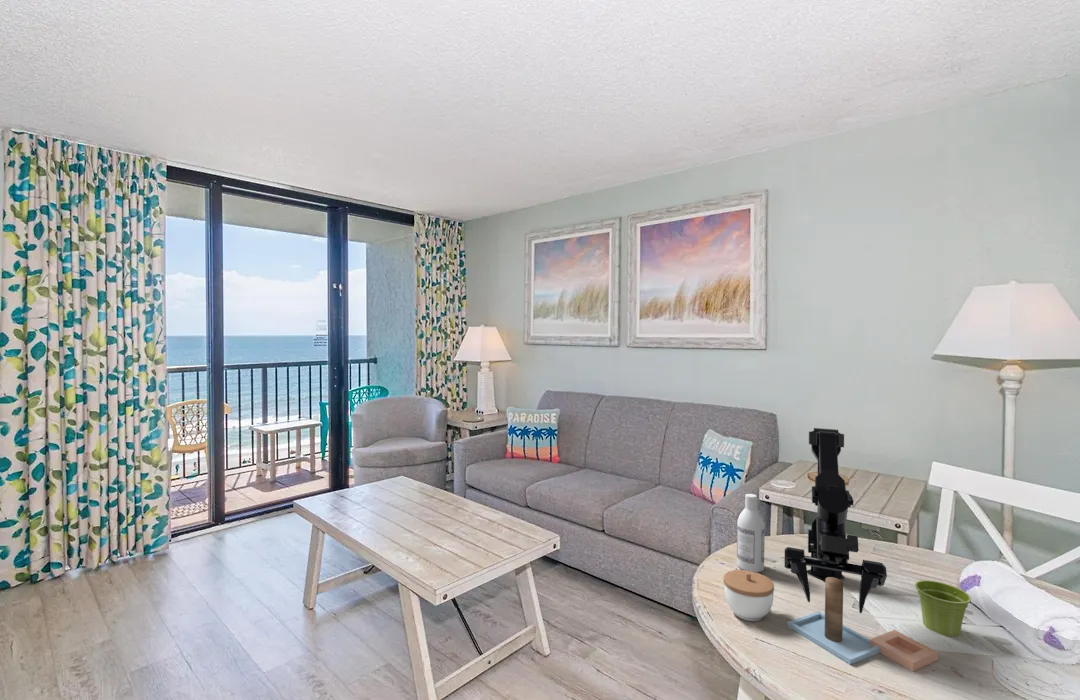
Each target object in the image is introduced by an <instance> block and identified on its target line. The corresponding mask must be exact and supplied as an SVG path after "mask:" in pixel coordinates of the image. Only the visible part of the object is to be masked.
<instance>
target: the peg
mask: <svg viewBox="0 0 1080 700" xmlns="http://www.w3.org/2000/svg"><path fill="white" fill-rule="evenodd" d="M824 582H825V590H824V599H825V600H824V614H825V637H826V638H827V639H828V640H830V641H833V642H841V641H842V630H843V625H844V623H843V622H844V621H843V619H844V617H843V616H844V581H843V579H838V578H834V577H827V578H826V581H824Z"/></svg>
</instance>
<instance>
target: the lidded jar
mask: <svg viewBox="0 0 1080 700" xmlns="http://www.w3.org/2000/svg"><path fill="white" fill-rule="evenodd" d="M723 591H724V597H725V600H726V603H727V605H728V607H729V608H730V610H732V612H733V613H734V614H735V616H736V617H737V618H740V619H742V620H744V621H749V622H758V621H759V622H760V621H761V620H762V619H763V618H764V617H765V616H767V614H769V612H770V611H771V609H772V606H773V603H774V593H775V592H774V591H775V584H774V582H773V580H771V579H770V578H769V577H767V576H766V575H764V574H761V573H760V572H752V571H747V570H742V569H736V570H735V569H734V570H730V571H727V572H726V573H725V574H724V575H723Z"/></svg>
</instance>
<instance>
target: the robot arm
mask: <svg viewBox="0 0 1080 700" xmlns="http://www.w3.org/2000/svg"><path fill="white" fill-rule="evenodd" d="M808 445H811V448H810V449H811V453H812V454H813V456H814V457H815V459H816V461H817V475H816V476H815V478H814V486H813V485H812V486H811V503H812V504H814V505H815V506H817V510H816V516H815V517H814V519H813V521H812V522H811V524H810V525H811V526H810V528H809V529H808V530H807V531H808V532H807V552H808V553H810V556H808V555H805V549H802V548H796V547H790V546H787V547H786V548H784V557H783V560H784V568H786V569H789V570H790V572H791V574H796V577H797V579H798V581H799V583H800V585H801V586H802V590H803V593H804V596H805V599H806V601H807V603H810V602H811V590H810V584H809V583H810V582H809V577H808V576H809V575H811V576H814V577H815V578H817V579H818V580H822V581H824V582H825V581H826V578H827V577H834V578H838V579H840V580H843V579H845V575H843V573H847V574H853V575H858V576H860V578H861V579H860V583H859V592H858V593H859V594H858V613H859V614H863V610H864V607H865V604H866V599H867V596H868V595H869V593H870V590H871V589H874V590H875V589H877V588H878V587H882V586H884V585H885V583H886V579H887V577H888V574H887V573H888V572H887V567H886V565H884V563H883V562H879V561H873V560H869V559H868V560H866V559H862V561H861V562H862V563H861V564H860V565H859V564H855V563H850V562H848V561H849V560H850V552H852V553H859V539H858V535H853V534H848V535H847V529H846V528H847V527H846V521H847V519H848V518H847V517H848V510H849V509H851V507H852V506H854V499H853V496H852V495H851V494H850V490H848V489H847V488H846V480H845V479H844V478H843V477H842V476H841V475H840V474H839V473H840V472H839V461H838V460H839V459H838V457H839V455H841V451H842V448H845V434H844V433H841V432H839V429H831V428H819V427H817V428H816V427H814V428H813V430H812V431H808ZM807 566H808V567H810V568H809V569H807ZM808 574H809V575H808Z"/></svg>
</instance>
